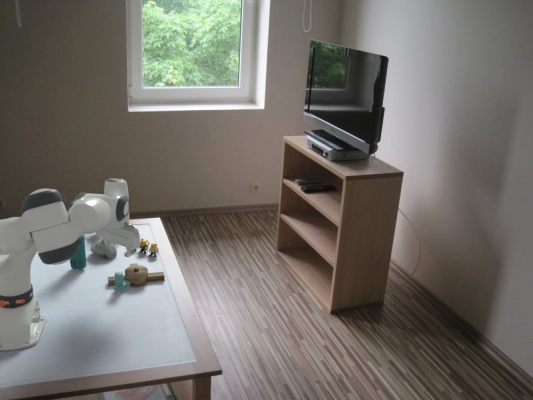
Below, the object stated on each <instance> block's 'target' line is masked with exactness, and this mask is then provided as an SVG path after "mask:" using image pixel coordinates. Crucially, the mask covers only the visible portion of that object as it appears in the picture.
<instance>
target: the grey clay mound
mask: <svg viewBox="0 0 533 400" xmlns="http://www.w3.org/2000/svg"><path fill="white" fill-rule="evenodd" d="M110 243H111V245H112V248H113V249H112V250H110V251H109V250H107V249H106V244H105V242H104V239H103V238H101V239H98V240H97V241H96V242H94V243H92V245H91V246H90V252H91V253H93V254H94V255H98V257H100V258H105V257H107V258H108V259H115V258H116V257H117V253H118V249H117V247H116V244H115V243H113V242H110Z"/></svg>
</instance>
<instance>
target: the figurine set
mask: <svg viewBox="0 0 533 400" xmlns="http://www.w3.org/2000/svg"><path fill="white" fill-rule="evenodd" d="M138 249H140V251H138V253H143V254H144V255H147V252H149V253H150V254H148V256H149V257H152V256H153V258H155V259H156V258H158V255H159V252H160V251H159V247H158V244H157V243H155V242H152V243H151V244H150V241H149V239H145V240H144V238H142V237H141V238H140V247H139V248H138ZM133 251H134V252H137V249H135V250H133Z"/></svg>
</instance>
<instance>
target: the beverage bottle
mask: <svg viewBox="0 0 533 400" xmlns="http://www.w3.org/2000/svg"><path fill="white" fill-rule="evenodd" d="M85 236H86V234H84V235H81V236H80V237H79V238H80V239H79V241H82V244H80V245H79V249H78V251H77V253H76V254H75V256H74V257H73V258H71V259H70V260H69V265H70V267H71V269H72V270H75V271H76V270H83V269H85V268H86V267H87V255H86V254H87V253H86V242H85V241H86V240H85Z"/></svg>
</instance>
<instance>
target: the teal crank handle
mask: <svg viewBox="0 0 533 400" xmlns="http://www.w3.org/2000/svg"><path fill="white" fill-rule="evenodd" d="M123 275H124V272H122V271H116V272H115V273H114V276H115V285H114V286H113V291H114V292H118V293H121V292H124V291H125V290H126V289H128V288H131V286H130V282H129V281H127V280H123Z"/></svg>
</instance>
